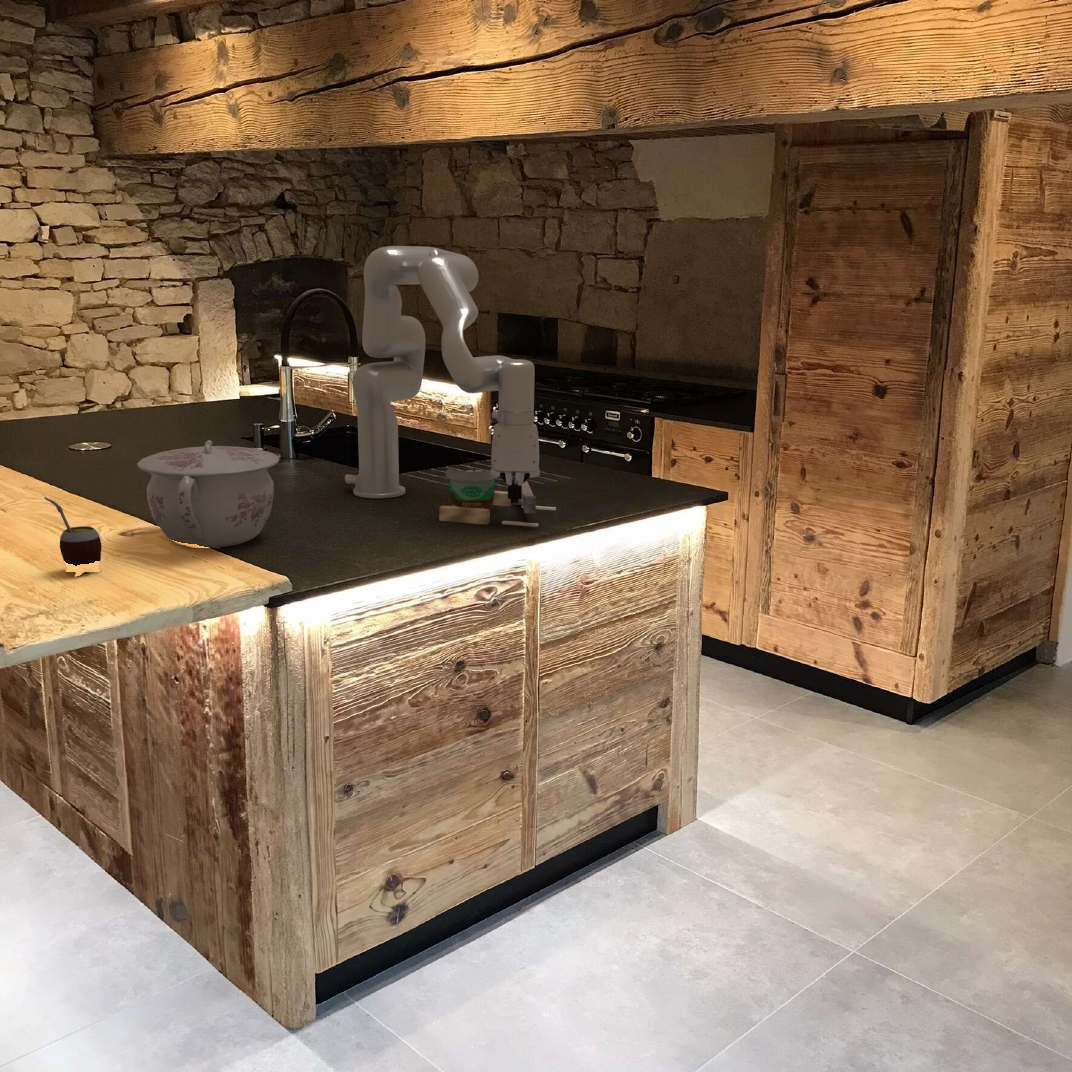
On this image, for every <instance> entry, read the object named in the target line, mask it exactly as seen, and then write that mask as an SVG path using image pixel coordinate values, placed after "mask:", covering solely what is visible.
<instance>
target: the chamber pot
mask: <svg viewBox="0 0 1072 1072" xmlns="http://www.w3.org/2000/svg"><path fill="white" fill-rule="evenodd" d="M280 459H281V458H280V457H279V456H278V455H276V454H274V453H273V452H270V451H266V450H262V449H257V448H252V447H243V446H230V445H229V446H228V445H213V441H212V440H210V439H208V440H207V441H205V443H204V446H192V447H184V448H177V449H171V450H165V451H161V452H157V453H154V454H151V455H148V456H145V457H143V458H141V459H140V460H139V461H138V463H136V465H137V467H138V468H139V470H141V471H143V472H146V473H149V474H151V476H150V479H149V482H148V484H147V486H146V497H147V498H146V499H147V502H148V507H149V510H150V513H151V516H152V518H153V520H154V522H155V523H156V524H157V526H158V527H159V528H160V530H161V531H162V533H164V534H165V536H166V537H167V539H168V538H169V539H168V540H170V539H171V540H174V541H177V542H181V543H188V544H197V545H199V546H204V547H224V546H231V545H236V546H238V545H237V544H239V545H241V543H242V544H244V543H246V542H249V541H251V540H253V539H254V538H257V536H258V535H259V534H260V533H261V531H262V529H263V528H264V526H265V524H266V522H267V521H268V519H269V518H270V514H271V513H272V507H273V500H274V494H275V493H274V491H275V489H274V487H275V486H274V480H273V478H272V477H271V475H270V474H269V472H268V469H270V468H272V467H273V466H276V465H277V464H279V462H280ZM171 540H170V541H171Z"/></svg>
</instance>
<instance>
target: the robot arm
mask: <svg viewBox="0 0 1072 1072" xmlns="http://www.w3.org/2000/svg"><path fill="white" fill-rule="evenodd" d="M363 281H364V292H365V293H364V307H363V322H362V323H363V324H362V335H361V337H362V340H361V341H362V347H363V348H362V349H363V351H364V353H365V354H366V355H367V356H368V357H372V358H377V359H384V358H385V359H387V358H393V361H380V362H371V363H367V364H363V365H361V366H360V367H358V368H357V369H356V370H355V372H354V374H353V376H352V379H351V380H352V383H351V384H352V391H353V395H354V400H355V404H356V414H357V417H356V418H357V432H358V433H357V437H358V438H357V440H358V441H357V443H358V474H356V475H354V474H345V476H344V482H345V484H348V485H351V484H354V486H355V487H354V488H353V489H352V490H353V495H354V496H356V497H359V498H367V499H389V498H390V499H391V498H392V499H393V498H396V497H397V498H398V497H400V496H403V495H405V493H406V487H404V486H403V485H400V477H399V476H400V475H399V473H400V471H399V469H400V467H399V466H400V465H399V463H400V462H399V423H398V419H397V414H396V413H395V410H394V408H393V406H392V404H391V403H393V402H398V401H405V400H410V399H412V398H414V397H416V396H418V393H419V392H420V390H421V388H422V384H423V376H424V365H425V357H426V356H425V354H426V333H425V329H424V327H423V325H422V323H421V322H420V321H419V320H418V319H417V318H416V317H413V316H411V315H410V316H409V315H402V307H403V301H402V295H401V292H400V290H399V288H398V286H397V285H420V286H421V287H422V290H423V291H424V294H425V295H426V297H427V299H428V301H429V302H430V304H431V307H432V308H433V310H434V312H435V314H436V316H437V317H438V319H439V321H440V323H441V325H442V327H443V331H442V334H441V340H440V342H441V343H440V344H441V345H440V346H441V356H442V360H443V363H444V365H445V367H446V368H447V371H448V373H449V374H450V376H451V379H452V380H453V382H454V383H455V384H456V386H457V387H458V388H459V389H460V390H461V391H463V392H464V393H467V394H479V393H487V392H496V391H497V392H498V410H497V411H493V412H491V419H492V420H493V419H495V420H496V421H497V422H498V423H496V424H494V427H493V431H492V432H493V433H492V441H491V454H490V455H491V456H490V457H491V458H490V459H491V462H490V463H491V465H490V466H491V469H490V470H491V472H490V474H491V475H494V476H498V477H497V478H501V479H502V480H503V481H504V482H505V483H506V485H507V492H508V499H511V504H512V505H513V504H515V503H516V504H518V501H519V499H522V485H523V483H524V482H525V481H527V482H528V480H529V479H531V478H537V477H539V476H540V475H541V471H540V467H539V465H540V444H539V443H540V442H539V441H540V440H539V430H538V427H537V424H535V423H534V418H535V417H534V416H535V411H534V409H535V407H534V406H535V374H536V373H535V364H534V363H533V362H532V361H530V360H529V359H528V360H527V359H521V358H520V359H517V358H515V359H513V358H510V357H508V356H504V355H484V356H476V357H473V355H472V353H471V352H470V350H469V348H468V346H467V344H466V341H465V339H464V338H465V337H464V330H466V329H467V328H468V327H470V326H471V325H472V324H473V323H474V322H475V321H476V319H477V317H478V316H479V309H478V307H477V305H476V303H475V302H474V299H473V297H472V296H471V294H470V292H472V291H474V289H475V288H476V287H477V285H478V281H479V272H478V268H477V266H476V264H475V263H474V261H473V260H472V259H471V258H469V256H466V255H464V254H460V253H457V252H452V251H450V250H444V249H442V248H439V247H438V248H437V247H433V246H418V245H417V246H416V245H415V246H412V245H389V246H382V247H379V248H376V249H375V250H373V251H372V252H371V253H369V255H368V257H367V258H366V260H365V263H364V268H363ZM516 472H518V473H519V476H518V480H517V481H516V480H515V481H514V479H513V473H516ZM515 483H516V484H515ZM516 504H515V505H516Z"/></svg>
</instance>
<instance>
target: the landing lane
mask: <svg viewBox="0 0 1072 1072" xmlns="http://www.w3.org/2000/svg"><path fill="white" fill-rule="evenodd" d="M521 509H524V507H523V505H521ZM536 510H541V511H542V510H543V511H544V510H545V511H556V510H557V507H556V506H542V505H541V506H539V505H536ZM501 524H502V525H507V526H510V525H511V526H521V527H533V528H538V527H539V525H540V524H539V523H538V522H537V523H536V522H533V523H532V522H524V521H512V520H511V521H509V520H502V522H501Z"/></svg>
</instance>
